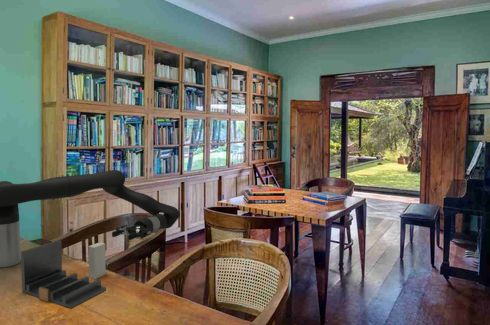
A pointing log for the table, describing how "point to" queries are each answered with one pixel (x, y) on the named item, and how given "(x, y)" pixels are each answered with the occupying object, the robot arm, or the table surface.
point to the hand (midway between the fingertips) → (120, 236)
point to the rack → (54, 277)
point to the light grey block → (97, 260)
